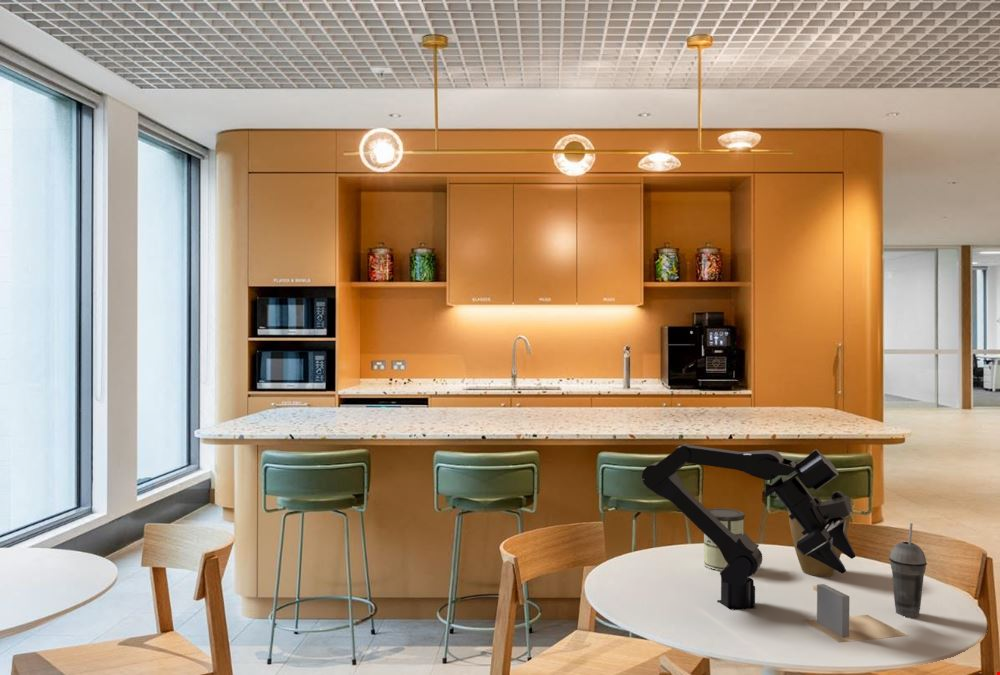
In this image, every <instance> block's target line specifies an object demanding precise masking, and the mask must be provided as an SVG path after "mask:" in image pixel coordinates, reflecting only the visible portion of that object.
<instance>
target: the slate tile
mask: <svg viewBox="0 0 1000 675" xmlns="http://www.w3.org/2000/svg"><path fill="white" fill-rule="evenodd" d="M816 586H817V591H816V619H817V623H818V624H819V625H821V626H823V627H825V628H827V629H828V630H830V631H832V632H834V633H835V634H837V635H839V636H841V637H849V616H850V599H851V598H850V595H848V594H846V593H843V592H841V591H839V590H837V589H836V588H833V587H831V586H829V585H826V584H825V583H818V584H817V585H816Z"/></svg>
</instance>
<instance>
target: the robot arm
mask: <svg viewBox="0 0 1000 675" xmlns="http://www.w3.org/2000/svg"><path fill="white" fill-rule="evenodd" d="M686 464H693V465H694V464H695V465H699V466H701V465H702V466H710V467H715V468H723V469H729V470H735V471H739V472H742V473H744V474H747V475H749V476H752V477H755V478H757V479H758V478H759V479H761V480H764V481H765V480H766V481H772V480H775V479H776V478H777V477H779V476H780V477H779V478H778V479H777V480H775V481H774V482H772V483H771V482H766V483H765V484H764V487H765V491H764V497H765V498H768V497H769V496H771V495H772V494H773V493H774V494H775V495H776V496H777V498H778V499H779V501H780V502H781V503H782V504H783V505H784V507H785V508H786V509H787V512H788V511H789V512H790V513H791V514H790V515H789V516H788V518H789V517H790V518H791V520H793V519H794V518H795V519H796V521H797V522H798V523H799V524H800V526H801V527H802V528H803V529H804V530H803V531H802V534H803V535H804V536H802V537H801V538H800V539H799V540H798V542H797V549H798V550H799V551H800V552H801V554H802V555H805V554H806V555H807V556H808V557H809V556H810V557H812V558H814V559H816V560H818V561H820V562H822V563H824V564H826V565H827V566H829V567H831V568H833V569H835V571H837V572H838V573H840V574H845V573H846V572H847V569H846V568H845V567H846V566H845V565H844V564H843V562H842V560H841V558H840V559H839V557H838V556H837V554H836V552H835V551H834V549H833V547H832V545H833V546H835V547H836V548H837V549H839V550H840V551H841V552H842V553H843V554H844V555H845V556H847V558H850V559H854V558H855V557H856V556H857V555H856V552H855V551H854V548H853V546H852V544H851V542H850V540H849V537H848V534H847V535H846V533H845V524H846V519H845V520H843V519H844V518H845V517H846V516H849V515H850V513H852V512H853V507H852V505H851V501H852V499H851V498H849V496H848V495H847V494H844V492H842V491H841V490H838V491H833V493H831V498H828V499H827V500H823V501H822V500H821V499H820V498H819V497H817V496H816V495H815V496H814V497H813V496H812V495H811V494H810V492H809V491H808V490H810V489H814V490H815V491H818V490H819V489H820V488H822V487H823V486H825V485H826V484H828V483H829V482H831V481H832V480H834V479H835V478H836V477H838V476H839V471H838V470H837V468H836V467H835V465H834V463H832V461H831V460H830V459H828V458H827V457H826V456H825V455H824V454H822V453H821V452H820V451H819V450H818V449H817V448H816V449H814V450H813V451H812V452H810V453H809V455H808V456H806V457H804V458H803V459H802V460H800V461H799V462H798V461H795V460H792V459H788V458H785V457H783V456H782V454H780V452H778V451H776V450H771V449H768V450H766V449H765V450H763V449H762V450H752V451H751V450H749V451H737V450H730V449H729V450H728V449H721V448H715V447H714V448H713V447H707V446H706V447H705V446H701V445H700V446H698V445H692V444H689V443H684V444H682V445H679V446H677V447H676V448H675V450H673V452H671V453H670V454H669V455H667V456H666V457H664V458H663V459H662V460H661V461H656V462H655V463H652V464H650V465H648V466H646V467H645V468H644V470H643V471H642V473H641V478H642V480H641V481H642V483H643V485H644V486H645V487H646V488H647V489H649V490H650V491H651V492H653V493H654V494H656V496H659V497H661V498H663V499H665V500H667V501H670V502H671V503H672V504H673V505H674V506H675V507H676V508H677V509H678V510H679V511H680V512H681V513H682V514H684V515H685V516H686V518H688V519H689V520H690V521H691V522H692V524H694V525H695V526H696V527H697V528H698V529H699V531H701V532H702V533H703V535H704V534H705V535H706V536H707V537H708V538H709V539H710V540H712V541H713V542H714V543H715V544H716V545H717V546H718V548H719V549H720V551H721V553H722V555H723V557H724V559H725V561H726V562H727V563H728V564H727V565H726V566H725V568H724V569H723V570H722V571H719V572H720V573H719V576H720V599H718V600H717V601H716V603H719V604H721V605H722V606H724V607H725V608H727V609H728V610H730V611H740V610H752V609H758V607H757V606H756V586H755V582H754V579H753V578H751V577H753V575H755V574H756V572H758V570H759V569H760V567H761V565H762V563H763V553H762V551H761V550H760V549H759V546H760V544H758V543H755V541H753V540H752V539H751V538H750V536H749V535H748V534H746V532H744V533H743V535H742V536H741V537H740V536H738V535H736V534H734V533H732V532H731V531H730V530H729V529H727V528H726V527H725V526H724V525H723V524H722V523H721V522H720V521H719V520H718V519H717V518H716V517H715V516H714V515H713V514H712V513H711V512H710V511H708V510H707V509H708V508H707V507H706V506H704V504H702V503H701V502H700V501H699V500H698V499H697V498H696V497H695V496H694V495H693V494H692V493H691V492H690V491H688V489H686V487H685V486H684V484H683V482H682V480H681V479H680V476H679V475H678V474H677V472H678V471H679V470H680V469H681V468H683V467H684V466H685V465H686ZM793 472H795V473H794V474H792V473H793ZM791 474H792V475H791ZM789 475H791V476H790V477H788V478H786V477H785V476H789ZM805 487H806V488H807V489H806V488H805ZM850 516H851V515H850ZM839 520H843V521H841V522H840V521H839ZM842 553H841V554H842Z"/></svg>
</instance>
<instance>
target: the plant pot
mask: <svg viewBox="0 0 1000 675" xmlns="http://www.w3.org/2000/svg"><path fill="white" fill-rule="evenodd" d="M851 513H852V512H850V515H849V516H846V517H845V518H844V519H843V520H845V519H846V524H845V533H846V535H847V536H848V531H849V525H850V520H851ZM787 514H788V522H789V528H790V532H791V533H790V534H791V539H792V543H793V547H794V551H795V553H796V557H797V560H798V563H799V565H800V569H801V570H802V572H803V573H804V574H807V575H810V576H815V577H831V576H832V575H834V572H835V571H836V570H835V569H833V568H831V567H829V566H827V565H826V564H824V563H822V562H820V561H818V560H816V559H814V558H812V557H810V556H809V557H808V556H807V555H806V554H805V555H802V554H801V552H800V551H799V550H798V549H797V542H798V540H799V539H800V538H801V537H802V536H804V535H803V534H802V531H803V530H804V529H803V528H802V527H801V526H800V524H799V523H798V522H797V521H796V519H795V518H794V519H793V520H791V518H790V517H789V515H790V514H791V513H790V512H789V511H788V510H787ZM843 520H839V521H840V522H841V521H843ZM832 547H833V549H834V551H835V552H836V554H837V556H838V557H839V559H840V560H841V556H842V552H841V551H840V550H839V549H837V548H836V547H835V546H833V545H832Z"/></svg>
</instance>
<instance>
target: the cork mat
mask: <svg viewBox="0 0 1000 675" xmlns="http://www.w3.org/2000/svg"><path fill="white" fill-rule="evenodd" d="M801 621H802V622H803V623H806V624H807V625H808V626H810V627H812V628H814V629H815V630H817V631H819V632H821V633H823V634H824V635H825V636H827V637H829V638H831V639H833V640H834V641H836V642H837V643H846V642H856V641H858V642H859V641H866V640H869V641H870V640H877V639H879V640H880V639H888V638H901V637H908V636H910V635H909V634H906V633H905V632H902V631H901V630H898V629H896V628H895V627H892V626H891V625H890V624H889V625H888V624H887V623H885V622H883V621H881V620H879V619H877V618H875V617H873V616H871V615H869V614H860V615H849V637H841V636H839V635H837V634H835V633H834V632H832V631H830V630H828V629H827V628H825V627H823V626H821V625H819V624H818V623H817V618H815V619H814V618H813V619H805V620H803V619H802V620H801Z"/></svg>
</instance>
